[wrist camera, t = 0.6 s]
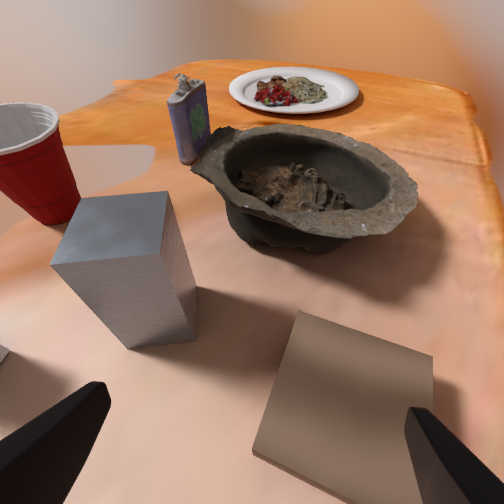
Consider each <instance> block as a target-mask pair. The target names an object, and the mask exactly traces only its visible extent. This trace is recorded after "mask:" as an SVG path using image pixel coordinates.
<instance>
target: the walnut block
mask: <svg viewBox="0 0 504 504" xmlns="http://www.w3.org/2000/svg"><path fill="white" fill-rule="evenodd" d="M411 406H414V407H424V408H427V409H428V410H429V411H430V412H432V413H433V414H434V398H433V356H430V355H427V354H424V353H421V352H418V351H415V350H412V349H409V348H406V347H404V346H401V345H398V344H395V343H392V342H389V341H386V340H383V339H380V338H377V337H374V336H372V335H369V334H366V333H363V332H360V331H357V330H354V329H351V328H348V327H345V326H342V325H340V324H337V323H334V322H331V321H328V320H325V319H322V318H319V317H316V316H313V315H311V314H308V313H305V312H302V311H298V313H297V316H296V319H295V322H294V325H293V328H292V331H291V334H290V337H289V340H288V343H287V346H286V349H285V352H284V355H283V358H282V361H281V364H280V367H279V370H278V373H277V376H276V379H275V382H274V385H273V388H272V391H271V394H270V397H269V400H268V403H267V406H266V409H265V412H264V415H263V417H262V420H261V423H260V426H259V429H258V432H257V435H256V438H255V441H254V444H253V447H252V452H253V455H254V456H256V457H258V458H260V459H262V460H264V461H266V462H268V463H270V464H272V465H274V466H276V467H277V468H279V469H281V470H283V471H285V472H287V473H289V474H291V475H293V476H295V477H297V478H299V479H301V480H303V481H305V482H307V483H309V484H310V485H312V486H314V487H316V488H318V489H320V490H322V491H324V492H326V493H328V494H330V495H332V496H334V497H336V498H338V499H340V500H341V501H343V502H345V503H347V504H423V502H422V499H421V495H420V492H419V488H418V484H417V480H416V476H415V473H414V469H413V465H412V461H411V457H410V454H409V450H408V446H407V442H406V439H405V434H404V425H405V420H406V416H407V412H408V408H409V407H411Z"/></svg>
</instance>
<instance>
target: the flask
mask: <svg viewBox="0 0 504 504" xmlns="http://www.w3.org/2000/svg"><path fill="white" fill-rule="evenodd" d="M179 75H181V74H180V73H178V74H177V75H175V77H176V78H177V77H178V76H179ZM176 78H174V79H176ZM188 78H189V77H186V76H185V75H184V74H182V75H181V76H180V77H178V80H179V83H178V87H179V89H177V90H176V91H175V92H174V93H173V94H172V95H171V96H170V97H169V98H168V100H167V105H168V109H169V113H170V117H171V121H172V126H173V130H174V135H175V139H176V144H177V149H178V153H179V158H180V161H181V163H182V162H183V163H182V164H184V163H185V164H188V165H191V164H192V163H194V162H195V161H197V158H198V157H199V156H200V155H201V150H202V149H203V145H205V144H206V138H207V136H208V135H210V134H211V132H210V124H209V114H208V104H207V96H206V86H205V82H204V81H202V80H199V79H190V80H189V82H188V81H187V79H188ZM185 164H184V165H185Z"/></svg>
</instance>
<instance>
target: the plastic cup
mask: <svg viewBox="0 0 504 504" xmlns="http://www.w3.org/2000/svg"><path fill="white" fill-rule="evenodd" d="M59 122H60V121H59V117H58V115H57V113H56V111H55V110H54V109H52V108H50V107H48V106H45V105H42V104H35V103H28V102H24V103H5V104H0V191H2V192H3V193H4V194H5V195H6V196H8V197H9V198H10V199H11V200H12V201H13V202H15V203H16V204H18V205H19V206H20V207H22V208H23V209H24V210H25V211H27V212H28V213H29V214H30V215H31V216H32V217H33V218H35V219H36V220H37V221H39V222H41V223H42V224H47V225H54V224H60V223H63V222H66V221H68V220H70V219H72V217H73V215H74V212H75V210H76V208H77V206H78V204H79V202H80V200H81V197H80V194H79V192H78V189H77V186H76V181H75V179H74V176H73V173H72V171H71V168H70V165H69V162H68V159H67V157H66V154H65V151H64V149H63V146H62V145H63V143H62V141H61V138H60V132H59V127H58V126H59V125H58V124H59Z"/></svg>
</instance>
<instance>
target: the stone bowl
mask: <svg viewBox="0 0 504 504" xmlns="http://www.w3.org/2000/svg"><path fill="white" fill-rule="evenodd" d="M201 159H202V160H201V162H200V164H199V163H198V162H197V163H196V164H195V166H192V167H191V168H192V169H191V170H190V171H192V172H193V173H195V174H197V175H199V176H201V177H202V178H204V179H206V180H207V181H208V182H210V183H212V184H214V185H215V188H216V190H217V191H218V192H219V193H220V194H221V195H222V197H223V199H224V200H225V205H226V211H227V216H228V220H229V223H230V226H231V227H232V229H234V231H235V232H236V233H237V235H238V236H239V237H240V238H241V239H242V240H244V241H246V242H248V243H251V244H256V243H260V242H263V241H264V242H266V243H267V244H269V245H270V246H273V247H279V246H280V247H283V248H294V247H304V248H305V250H307V251H308V252H310V253H312V254H320V253H326V252H329V251H331V250H334V249H337V248H338V247H340V246H341V245H343V244H344V243H346V242H348V241H349V240H350V239H352V238H353V237H356V236H368V235H375V234H382V235H383V234H387V233H388V232H390V231H392V230H393V229H394V228H395V227H396V226H397V225H398V224H400V223H401V222H402V221H403V220H404V219H405V216H406V215H407V214H408V213H409V212H411V211H412V210H413V209H415V208H416V204H417V203H418V201H417V200H416V199H417V196H418V192H417V189H418V187H417V186H418V185H417V183H416V182H415V181H413V180H412V179H411V178H410V177H408V175H409V174H408V173H407V172H406V171H405V170H404V168H402V167H401V166H400V165H398V163H396V161H394V160H393V159H391V158H389V157H388V156H387V155H386V154H384V153H383V152H381V151H380V150H378V149H377V148H375V147H374V146H372V145H370V144H368V143H364V142H358V141H356V140H354V139H353V138H352V137H347V136H345V135H343V134H341V133H336V132H331V131H327V130H322V129H314V128H309V127H305V126H302V125H288V124H274V125H268V126H264V127H256V128H252V129H247V130H246V131H241V130H238V129H234V128H231V127H230V126H227V127H226V128H225V127H224V128H221V127H219V128H218V129H216V130H215V131H214V132H213V134H210V135H208V136H207V138H206V144H205V145H203V149H202V150H201ZM329 202H330V203H329ZM350 208H352V209H350Z"/></svg>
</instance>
